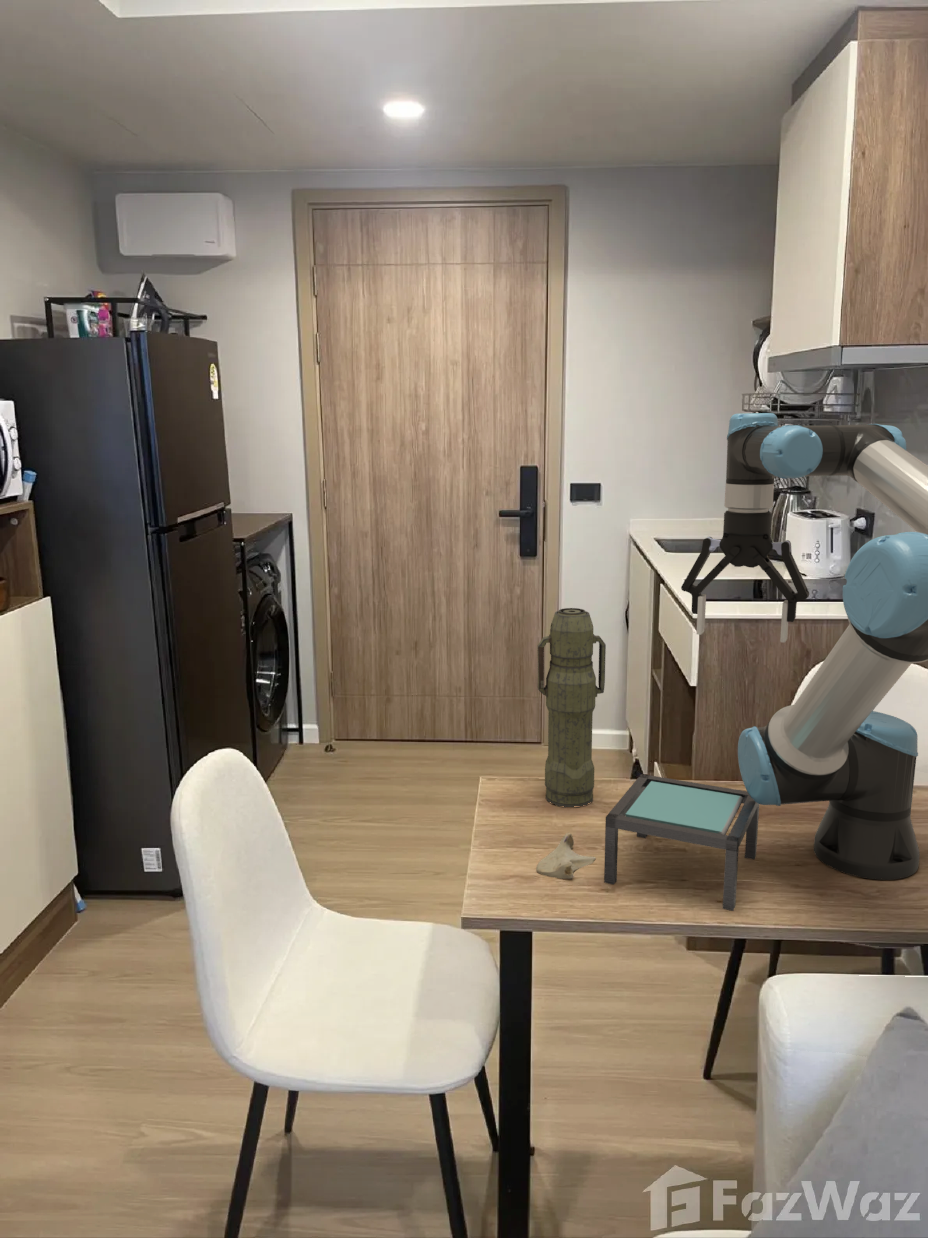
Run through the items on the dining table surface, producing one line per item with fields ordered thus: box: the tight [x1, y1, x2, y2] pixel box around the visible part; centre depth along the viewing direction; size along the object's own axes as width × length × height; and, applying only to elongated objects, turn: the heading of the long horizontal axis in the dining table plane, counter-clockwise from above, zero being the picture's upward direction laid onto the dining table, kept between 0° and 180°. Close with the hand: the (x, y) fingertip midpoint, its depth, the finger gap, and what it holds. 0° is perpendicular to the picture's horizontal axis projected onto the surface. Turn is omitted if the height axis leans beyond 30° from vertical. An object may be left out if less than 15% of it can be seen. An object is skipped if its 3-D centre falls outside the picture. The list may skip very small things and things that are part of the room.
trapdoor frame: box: [603, 773, 760, 912], centre depth 140 cm, size 19×19×10 cm
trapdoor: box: [625, 781, 743, 835], centre depth 139 cm, size 14×14×1 cm
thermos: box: [537, 607, 607, 808], centre depth 164 cm, size 9×12×35 cm
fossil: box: [535, 832, 597, 880], centre depth 143 cm, size 7×11×3 cm, turn 147°
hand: (741, 636), depth 154 cm, fingers open, 13 cm apart
